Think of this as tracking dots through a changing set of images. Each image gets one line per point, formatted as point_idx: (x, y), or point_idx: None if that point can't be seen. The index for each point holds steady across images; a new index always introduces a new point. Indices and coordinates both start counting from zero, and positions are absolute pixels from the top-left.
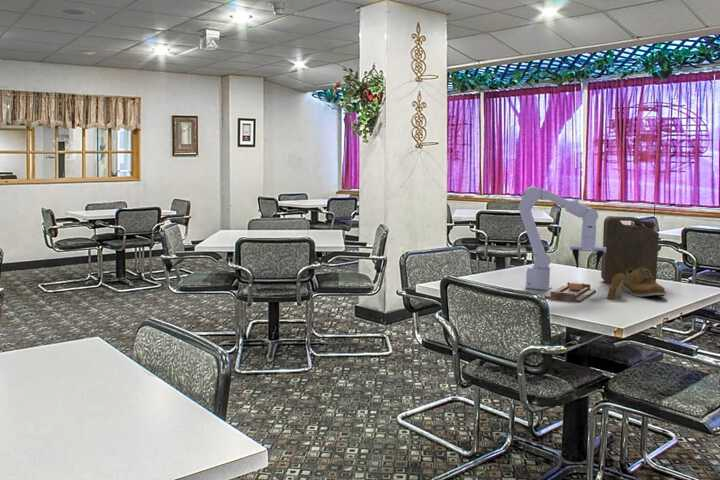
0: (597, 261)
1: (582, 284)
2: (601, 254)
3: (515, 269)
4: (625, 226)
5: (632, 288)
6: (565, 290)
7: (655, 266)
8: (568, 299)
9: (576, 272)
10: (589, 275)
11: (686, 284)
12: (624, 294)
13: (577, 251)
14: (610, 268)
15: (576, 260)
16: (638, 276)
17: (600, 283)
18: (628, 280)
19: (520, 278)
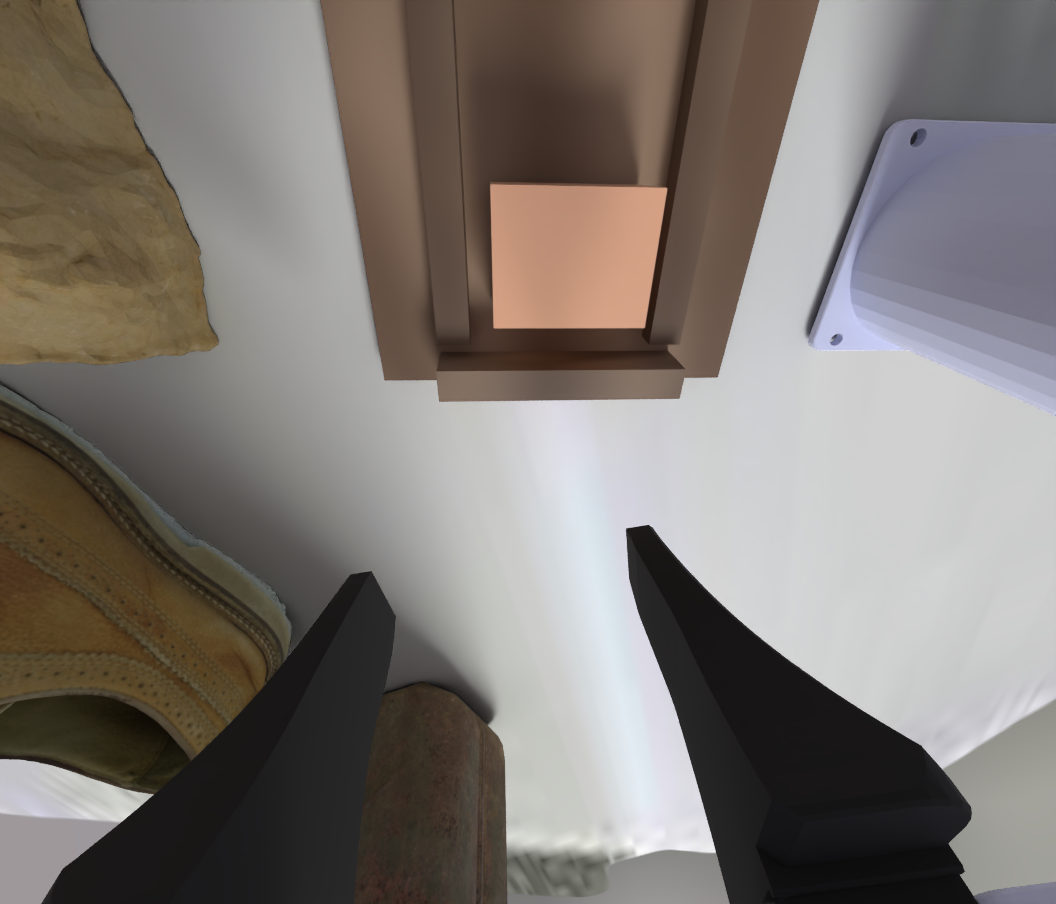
0: (289, 679)
1: (492, 267)
2: (55, 891)
3: (952, 743)
4: None
5: (38, 474)
6: (673, 86)
7: None
8: None
9: (655, 799)
10: (588, 781)
11: (124, 815)
12: (129, 401)
13: (798, 877)
14: (412, 796)
15: (702, 608)
16: None
17: (481, 668)
18: (134, 608)
19: (1000, 570)
